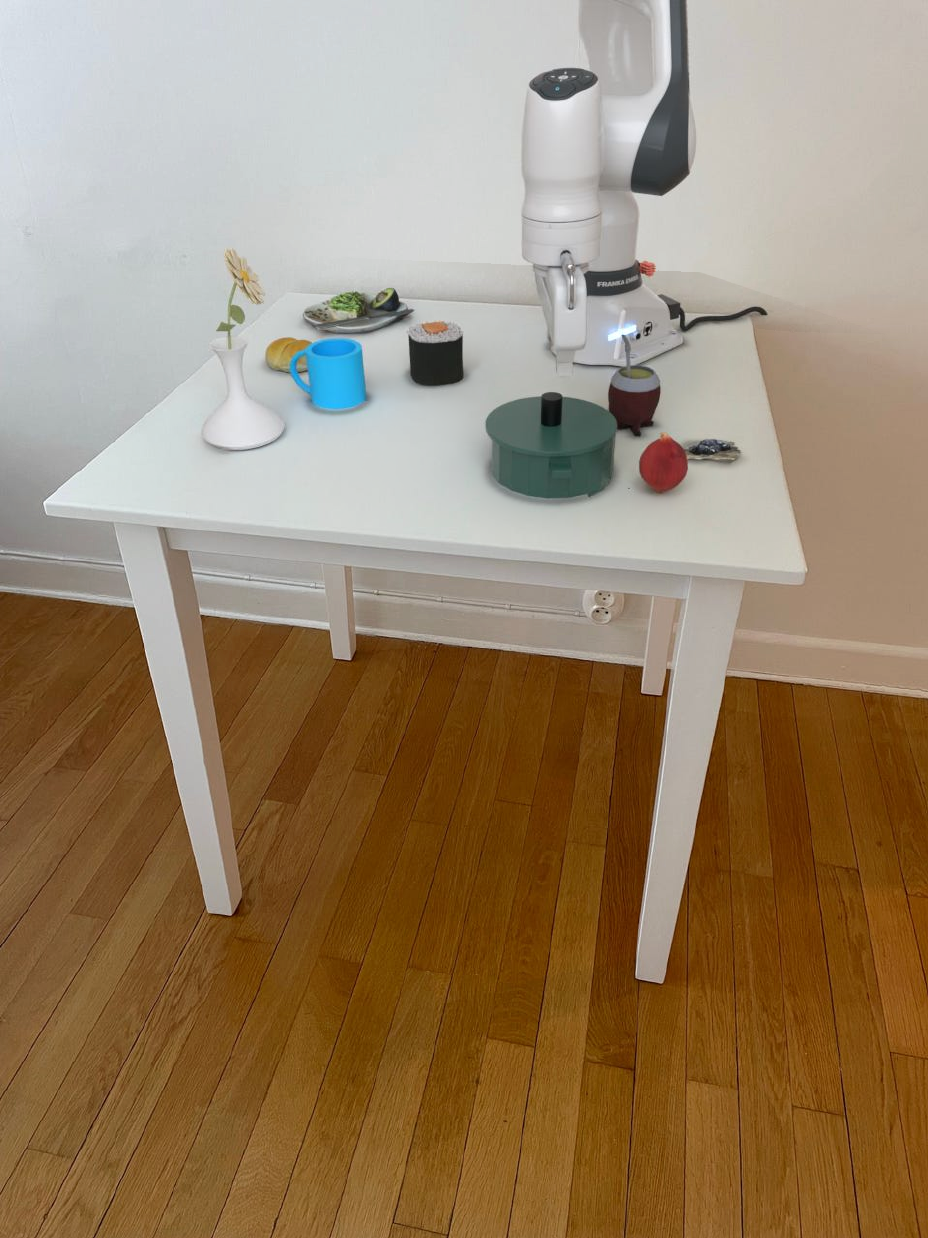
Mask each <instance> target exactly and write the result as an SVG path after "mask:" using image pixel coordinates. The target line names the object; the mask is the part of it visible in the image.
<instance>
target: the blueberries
mask: <svg viewBox="0 0 928 1238" xmlns="http://www.w3.org/2000/svg"><path fill="white" fill-rule="evenodd" d="M735 445H736V442H734V441H727V440H723V439H717V438H716V439H715V438H710V439H708V438H705V439H702V440H699V441H696V442H692V443H691V444H690V443H689V444H688V445H687V446H685V447H684V448H683V447H682V448H683V449H684V451H685V453H686V456H687V460H690V459H693V460H706V459H709V460H713V461H714V460H715V461H716V460H719V461H721V462H724V463H725V462H728V463H729V462H733V461H734V460H736V459H737V458H738V457H739V455H740V454H742V451H741V449H739V447H738V446H735Z"/></svg>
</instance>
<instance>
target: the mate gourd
mask: <svg viewBox="0 0 928 1238" xmlns="http://www.w3.org/2000/svg"><path fill="white" fill-rule="evenodd" d="M621 336H622V338H623V340H624V342H625V352H626V365H627V366H625V367H622V366H620V368H618V369H617V370H616V371H615V372H614V374H613V375H612V377H611V379H610V383H609V386H608V392H607V402H608V411H609V412H610V413H611V414H612V415H613V416H614V417H615V419H616V421H617V430H627V429H628V430H630V432H631V433H632V434H633V435H634V437H641V436H642V432H641V430H640V428H646V427H647V428H648V427H654V420H653V419H654V415H655V413H656V410H657V408H658V406H659V402H660V399H661V392H662V391H661V390H662V388H661V387H662V386H661V380H660V377H659V375H658V374H657V372H656V371H655V370H654V369H653V368H651V367H649V366H646V365H645V366H644V365H640V364H637V365H630V351H631V345H630V344H629V340H628V338H627V337H626V336H625V335H624V334H622V335H621Z"/></svg>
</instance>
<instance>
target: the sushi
mask: <svg viewBox="0 0 928 1238" xmlns="http://www.w3.org/2000/svg"><path fill="white" fill-rule="evenodd" d="M406 333H407V337H408V353H409V354H408V356H409V370H410V371H409V372H410V373H409V374H410V377H411V379H412V380H413V381H414V382H415V383H416V384H418V385H421V386H430V387H431V386H432V387H433V386H435V387H436V386H445V385H452V384H456V383H459V382H460V381H462V380H463V379H464V358H463V357H464V355H463V354H464V353H463V352H464V347H463V346H464V331H462V327H461V326H459V325H457V324H455V323H454V322H451V321H443V320H439V321H436V320H434V321H433V322H432V321H431V322H428V321H425V323H423V322H422V323H421V322H419V323H418V324H416V325H414V326H409V327H408V329H407V330H406Z"/></svg>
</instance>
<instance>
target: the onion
mask: <svg viewBox="0 0 928 1238" xmlns="http://www.w3.org/2000/svg"><path fill="white" fill-rule="evenodd" d="M688 463H689V461H688V459H687V456H686V453H685V451H684V449H683V446H682V445H681V444H680V443H679V442H678V441H676V439H674V438H672V437H671V436H670V435H669V433H668V432H666V431H665V432H664V431H663V432H661V433H660V438H657V439H655V440H654V441H652V442H650V443H649V444H648V445H647V446H646V448H645V449H644V450H643V452H641V455H640V457H639V461H638V469H639V470H638V471H639V475H640V477H641V478H642V480H643V481H644V482H645V483H646V484H647V485H648V486H649V487H650V488H651V489H653V491H654V492H655V493H658V494H662V493H665V492H667V491H670V490H673V489H675V488H676V487H677V486H678V485H680V484H681V483H682V482H683V481H684V480H685V478H686V476H687V473H688V470H689V468H688V467H689V465H688Z"/></svg>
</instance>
